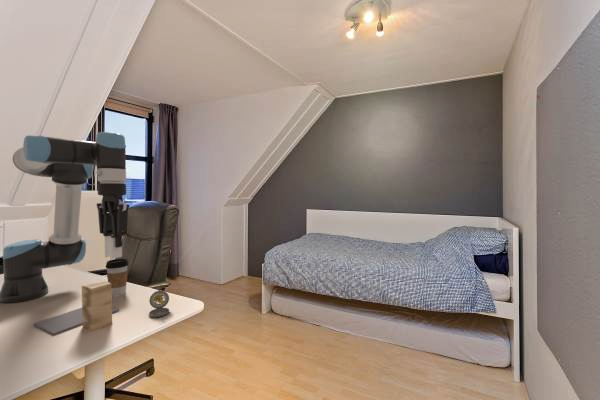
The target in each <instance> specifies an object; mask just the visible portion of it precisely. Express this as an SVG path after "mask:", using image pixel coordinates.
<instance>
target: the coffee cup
mask: <svg viewBox="0 0 600 400" xmlns="http://www.w3.org/2000/svg"><path fill="white" fill-rule="evenodd" d="M128 261H129V260H128V258H113V259H110V260H107V261H106V264H105V269H106V277H107V282H109V283H111V290H112V297H118V296H123V295H125V294H126V292H127V284H128V283H127V282H128V272H129V271H128V266H129V265H130V264H129V262H128Z"/></svg>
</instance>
